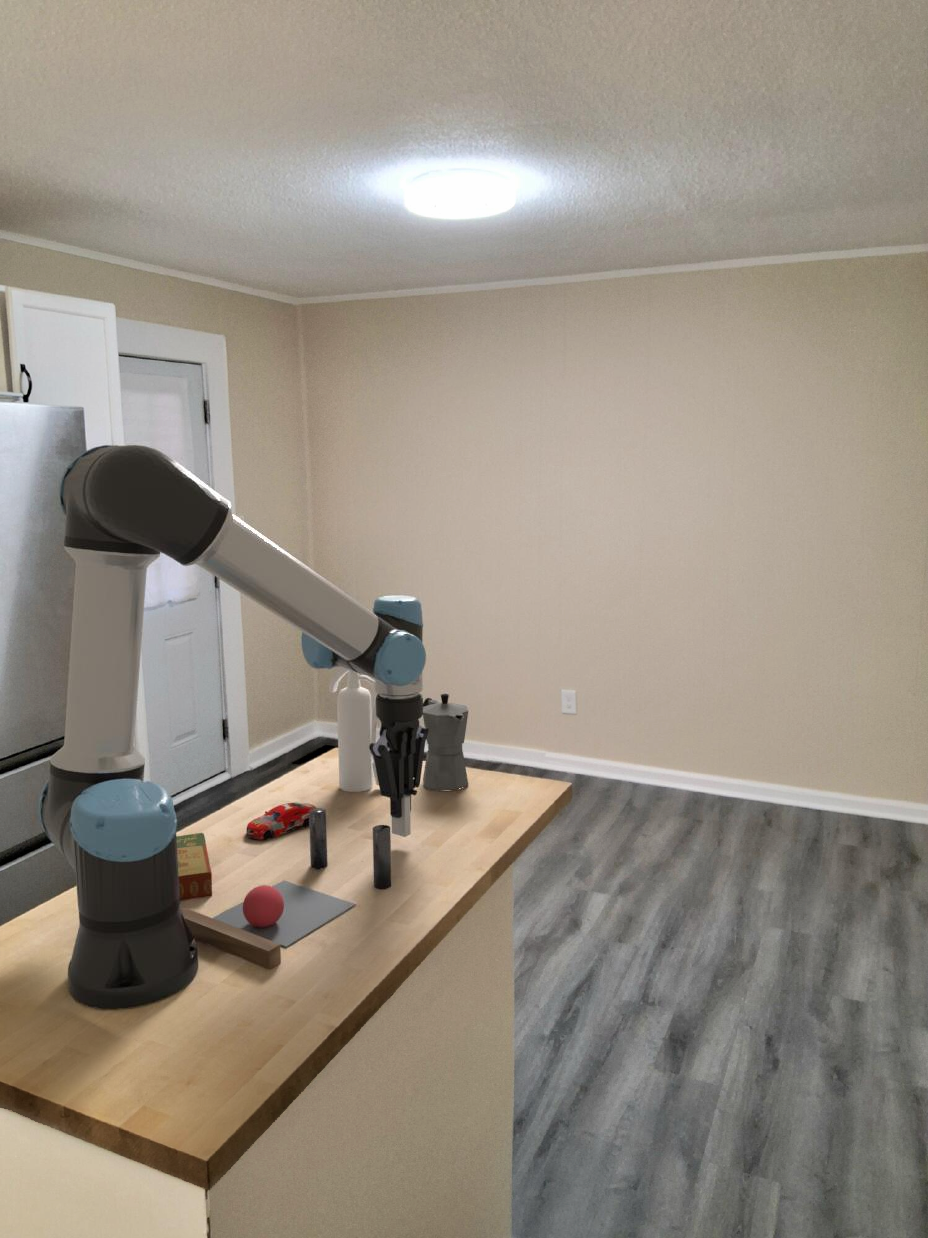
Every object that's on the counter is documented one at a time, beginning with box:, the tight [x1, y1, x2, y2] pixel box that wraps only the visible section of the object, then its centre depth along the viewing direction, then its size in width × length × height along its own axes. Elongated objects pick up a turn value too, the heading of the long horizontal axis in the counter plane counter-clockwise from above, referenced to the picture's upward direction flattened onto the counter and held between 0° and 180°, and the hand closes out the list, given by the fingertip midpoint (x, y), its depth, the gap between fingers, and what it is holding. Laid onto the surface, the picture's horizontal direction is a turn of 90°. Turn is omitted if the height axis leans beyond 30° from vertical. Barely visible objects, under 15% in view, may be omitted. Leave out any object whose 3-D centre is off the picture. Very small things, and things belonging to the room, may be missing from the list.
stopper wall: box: [181, 907, 282, 970], centre depth 123 cm, size 2×18×2 cm, turn 56°
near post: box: [372, 824, 392, 891], centre depth 139 cm, size 3×3×9 cm
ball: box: [242, 884, 284, 928], centre depth 128 cm, size 6×6×6 cm
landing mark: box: [212, 879, 357, 949], centre depth 132 cm, size 14×14×1 cm
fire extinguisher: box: [323, 667, 379, 793], centre depth 180 cm, size 7×12×25 cm, turn 69°
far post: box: [309, 807, 329, 870], centre depth 146 cm, size 3×3×9 cm
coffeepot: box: [422, 693, 469, 792], centre depth 183 cm, size 15×9×18 cm, turn 29°
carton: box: [176, 832, 213, 902], centre depth 143 cm, size 8×16×4 cm, turn 19°
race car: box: [246, 802, 317, 841], centre depth 162 cm, size 13×5×4 cm, turn 131°
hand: (401, 833), depth 154 cm, fingers closed
